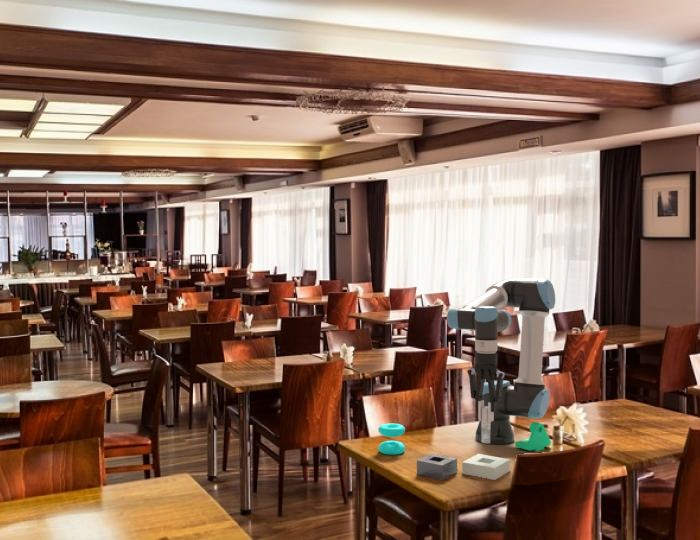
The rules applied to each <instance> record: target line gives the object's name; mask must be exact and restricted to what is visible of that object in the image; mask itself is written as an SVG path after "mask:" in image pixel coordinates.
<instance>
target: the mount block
mask: <svg viewBox="0 0 700 540" xmlns="http://www.w3.org/2000/svg"><path fill="white" fill-rule="evenodd" d="M457 473H458V458H457V457H453V456H449V455H443V454H436V453H432V452H431V453H429V454H427V455H425V456H423V457H421V458H419V459H416V476H420V477H425V478H429V479H430V478H431V479H435V480H439V481H444V480H446V479H448V478H450V477H452V476H453V475H456V474H457Z"/></svg>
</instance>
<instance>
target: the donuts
mask: <svg viewBox="0 0 700 540" xmlns="http://www.w3.org/2000/svg"><path fill="white" fill-rule="evenodd" d="M405 432H406V427H405V426H404V425H402V424H400V423H394V422H393V423H383V424H381V425H379V427H378V433H379V434H380V435H382V436H384V437H387V438H397V437H400V436H402V435H404V433H405ZM378 450H379V452H380V453H381V454H384V455H388V456H394V455H395V456H396V455H397V456H398V455H400V454H402V453H403V454H404V452H405V450H406V446H405V445H404V444H403V442H401V441H398V440H386V441H383V442H381V443H380V444H379V445H378Z"/></svg>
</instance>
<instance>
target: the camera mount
mask: <svg viewBox="0 0 700 540" xmlns="http://www.w3.org/2000/svg"><path fill="white" fill-rule="evenodd" d="M529 433H530V435H529V438H526V439H521V440H518V441H517V440H516V441H515V442H514V443H515V444H514V447H516V448H519V449H523V450H526V451H533V450H534V452H539V451H543V450H545V447H550V446H552V445H551V444H552V442H551V438H550V437H549V435H548V432H547V430H546V428H545V426H544V424H542V423H539V422H536V421H533V422H531V423H530V425H529Z"/></svg>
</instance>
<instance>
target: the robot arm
mask: <svg viewBox="0 0 700 540" xmlns="http://www.w3.org/2000/svg"><path fill="white" fill-rule="evenodd" d="M555 305H556V293H555V287H554V285H553V283H552V282H551V281H550V280H549V279H545V278H522V277H521V278H519V277H518V278H516V277H514V278H513V277H511V278H507V279H504V280H501V281H498V282H497V283H494V284H492V285H491V286H489V287H488V288H487V289H486V290H485V292H484V293H483V294H481V295H480V296H478V297H477V298H475V299H473V300H471V301H470V302H469V303H467V304H466V305H464V306H463V307H459V308H458V307H456V308H453V307H452V308H450V309H449V310H448V311H447V314H446V323H447V325H448V327H449V328H450V329H455V330H458V331H459V330H464V331H465V330H466V331H467V330H468V331H474V351H475V353H474V363H475V365H474V366H473V368H470V369H467V374H468V378H469V388H470V389H469V390H470V398H471V399H474V400H475V401H476V402H475V408H476V410H477V411H478V413H477V417H478V418H477V419H478V421H479V422H478V424H477V427H476V431H475V440H476V441H478V442H479V443H482V442H481V421H482V407H483V406H488V422H490V443H487V444H489V445H490V444H491V445H505V444H511V443H513V442H514V441H515V434H514V430H513V427H512V424H511V417H510V416H512V417H520V418H528V419H538V420H540V419H542V418H543V417H544V416H545V415H546V413H547V410H548V408H549V404H550V391H549V390H548V388H546V383H544V381H543V380H542V372H543V371H542V370H543V355H544V340H545V339H544V338H545V323H546V317H547V316H548V315H550V310H552V309H554V308H555ZM503 308H518V313H519V314H520V315H521V317H522V319H521V333H520V349H519V364H518V365H519V366H518V367H519V368H518V377H517V378H516V379H515V380H514V383H513V385H511V382H510V381H509V380H505V379H504V378H505V377H506V372H505V371H504V372H503V371H500V369H499V367H498V353H497V351H498V332H504V331H506V330H507V329H509V327H510V326H511V324H512V322H513V321H512V316H511V314H510V313H509V311H508V310H505V309H503ZM476 376H477V378H476ZM495 377H496V380H495ZM485 381H486V382H485Z"/></svg>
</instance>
